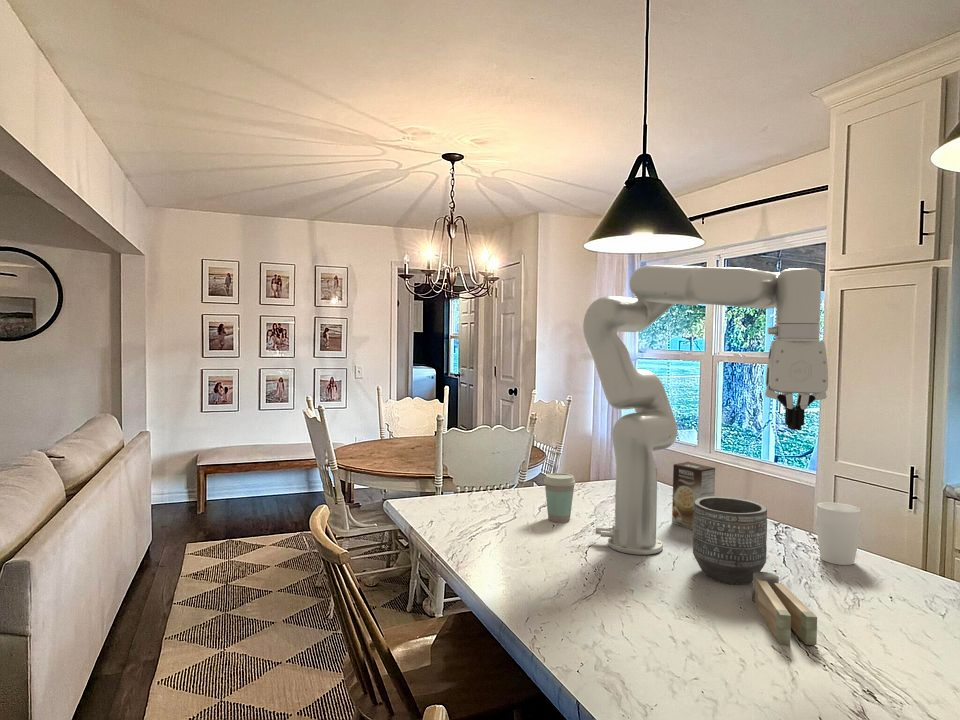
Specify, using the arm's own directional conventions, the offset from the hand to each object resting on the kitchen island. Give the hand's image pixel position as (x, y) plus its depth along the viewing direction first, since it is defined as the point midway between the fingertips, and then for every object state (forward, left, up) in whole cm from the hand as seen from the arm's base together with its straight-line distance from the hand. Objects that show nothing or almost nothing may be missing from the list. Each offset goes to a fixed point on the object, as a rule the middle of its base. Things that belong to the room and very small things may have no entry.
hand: (794, 429), depth 122 cm
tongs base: (-6, -13, -32) cm, 35 cm away
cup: (+16, +22, -32) cm, 42 cm away
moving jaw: (-4, -16, -32) cm, 35 cm away
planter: (-10, +7, -32) cm, 34 cm away
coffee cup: (-47, +41, -32) cm, 70 cm away
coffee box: (-12, +43, -32) cm, 55 cm away
